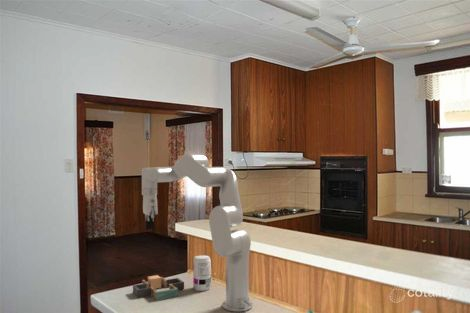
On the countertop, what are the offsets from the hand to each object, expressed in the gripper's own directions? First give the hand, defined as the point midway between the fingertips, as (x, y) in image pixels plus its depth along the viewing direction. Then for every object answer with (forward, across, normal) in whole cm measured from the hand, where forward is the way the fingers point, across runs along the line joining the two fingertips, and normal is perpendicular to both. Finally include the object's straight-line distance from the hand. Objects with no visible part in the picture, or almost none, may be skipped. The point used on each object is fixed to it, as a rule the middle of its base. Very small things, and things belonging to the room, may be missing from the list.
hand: (149, 228), depth 187 cm
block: (+27, -8, 0) cm, 28 cm away
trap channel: (+27, -14, 0) cm, 31 cm away
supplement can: (+27, -21, -19) cm, 39 cm away
